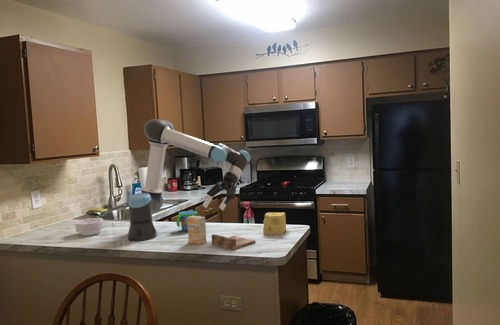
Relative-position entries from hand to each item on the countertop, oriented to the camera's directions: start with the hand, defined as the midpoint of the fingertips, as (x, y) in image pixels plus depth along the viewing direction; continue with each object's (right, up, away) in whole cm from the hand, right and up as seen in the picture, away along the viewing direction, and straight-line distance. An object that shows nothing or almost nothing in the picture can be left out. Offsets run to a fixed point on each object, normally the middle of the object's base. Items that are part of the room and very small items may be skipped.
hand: (212, 207), depth 206 cm
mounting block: (+11, -16, -12) cm, 23 cm away
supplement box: (-7, -17, -6) cm, 19 cm away
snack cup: (-16, -15, +23) cm, 32 cm away
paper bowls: (-73, -18, +26) cm, 80 cm away
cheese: (+33, -14, +6) cm, 36 cm away
